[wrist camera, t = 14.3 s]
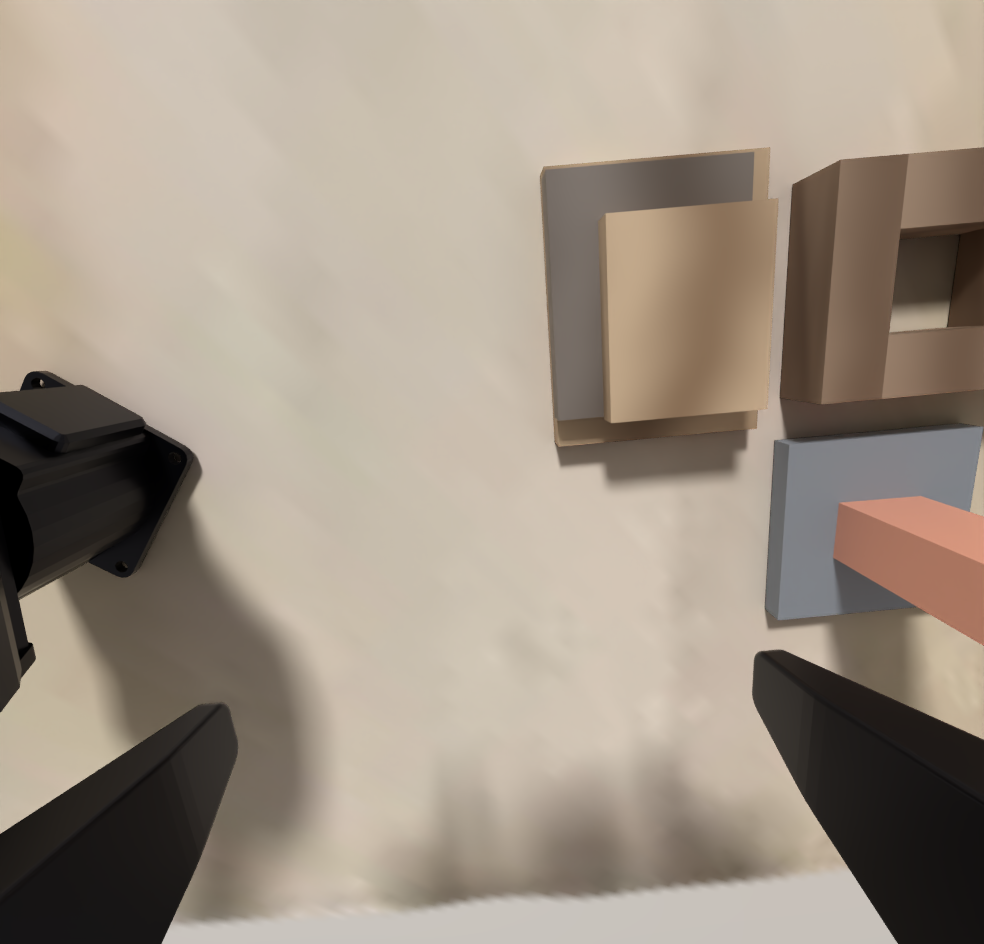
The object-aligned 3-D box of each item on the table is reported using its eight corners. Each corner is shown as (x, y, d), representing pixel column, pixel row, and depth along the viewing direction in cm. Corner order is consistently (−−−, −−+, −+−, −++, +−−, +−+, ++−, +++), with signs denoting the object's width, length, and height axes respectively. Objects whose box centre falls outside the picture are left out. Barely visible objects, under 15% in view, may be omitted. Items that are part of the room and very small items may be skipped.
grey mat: (764, 608, 23) (777, 620, 22) (774, 440, 21) (789, 444, 20) (934, 592, 23) (954, 603, 22) (959, 423, 21) (983, 426, 20)
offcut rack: (552, 442, 20) (565, 457, 18) (537, 176, 18) (549, 143, 15) (988, 402, 21) (1072, 411, 18) (1033, 134, 18) (1138, 93, 15)
